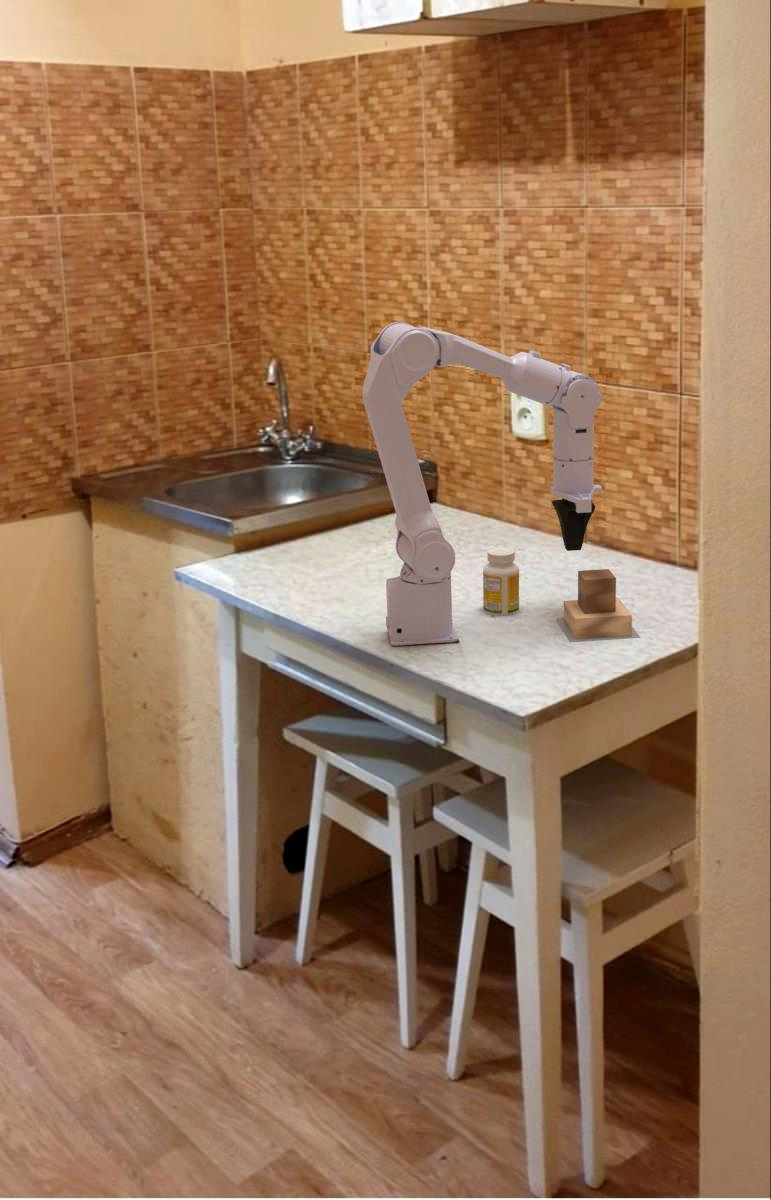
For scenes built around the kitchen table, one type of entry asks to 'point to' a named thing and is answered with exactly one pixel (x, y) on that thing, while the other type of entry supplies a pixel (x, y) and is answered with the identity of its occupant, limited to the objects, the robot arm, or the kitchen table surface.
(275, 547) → the kitchen table surface
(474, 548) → the kitchen table surface
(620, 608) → the oak brick
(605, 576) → the walnut block
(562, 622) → the baseplate
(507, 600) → the supplement bottle
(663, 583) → the kitchen table surface
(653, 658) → the kitchen table surface
